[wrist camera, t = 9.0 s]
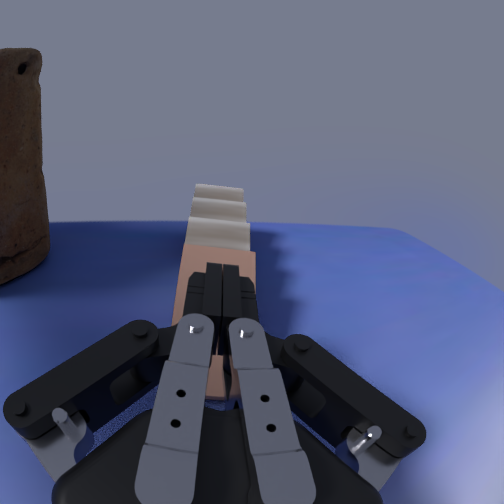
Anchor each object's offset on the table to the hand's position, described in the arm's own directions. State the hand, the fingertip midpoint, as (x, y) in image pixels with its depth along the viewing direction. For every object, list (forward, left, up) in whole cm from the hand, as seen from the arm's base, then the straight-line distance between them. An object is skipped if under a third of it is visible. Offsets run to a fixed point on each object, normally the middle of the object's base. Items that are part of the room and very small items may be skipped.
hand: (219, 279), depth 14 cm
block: (-21, +8, -8) cm, 24 cm away
